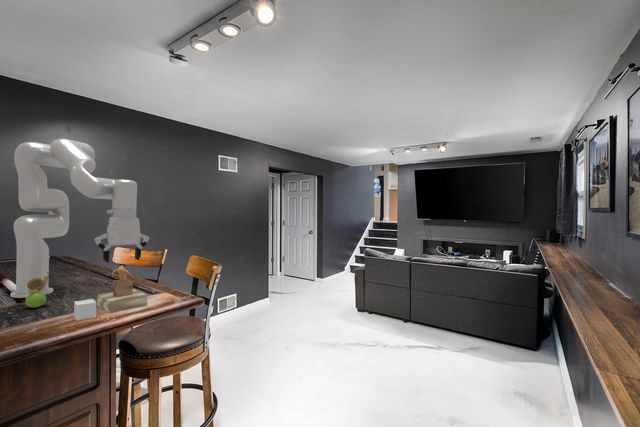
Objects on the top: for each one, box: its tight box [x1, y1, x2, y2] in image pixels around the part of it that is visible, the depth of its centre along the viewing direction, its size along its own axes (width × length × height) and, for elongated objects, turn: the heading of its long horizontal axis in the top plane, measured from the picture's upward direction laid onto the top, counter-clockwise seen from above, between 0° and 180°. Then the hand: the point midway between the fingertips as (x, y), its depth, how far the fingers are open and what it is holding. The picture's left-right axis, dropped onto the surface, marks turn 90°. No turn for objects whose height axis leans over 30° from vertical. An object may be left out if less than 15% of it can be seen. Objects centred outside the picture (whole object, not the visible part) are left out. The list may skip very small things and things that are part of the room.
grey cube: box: [73, 298, 97, 322], centre depth 102 cm, size 5×5×5 cm
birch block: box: [96, 288, 148, 314], centre depth 115 cm, size 12×12×4 cm
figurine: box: [111, 265, 133, 280], centre depth 129 cm, size 8×6×12 cm
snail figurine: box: [25, 271, 50, 309], centre depth 110 cm, size 5×6×12 cm
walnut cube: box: [112, 278, 134, 297], centre depth 115 cm, size 5×5×5 cm
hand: (122, 260), depth 115 cm, fingers open, 9 cm apart
